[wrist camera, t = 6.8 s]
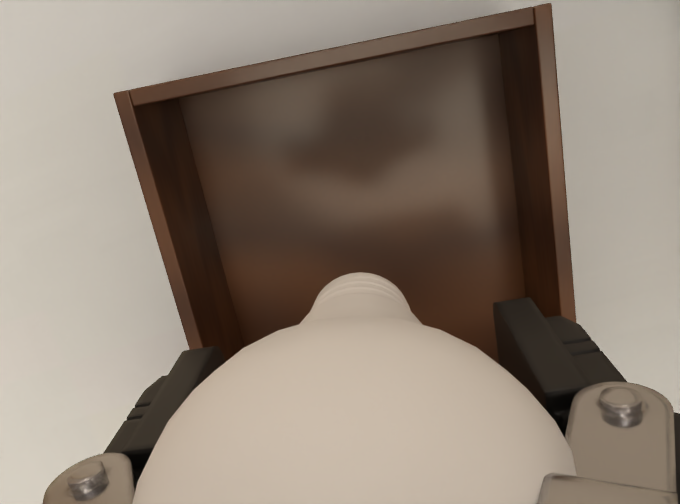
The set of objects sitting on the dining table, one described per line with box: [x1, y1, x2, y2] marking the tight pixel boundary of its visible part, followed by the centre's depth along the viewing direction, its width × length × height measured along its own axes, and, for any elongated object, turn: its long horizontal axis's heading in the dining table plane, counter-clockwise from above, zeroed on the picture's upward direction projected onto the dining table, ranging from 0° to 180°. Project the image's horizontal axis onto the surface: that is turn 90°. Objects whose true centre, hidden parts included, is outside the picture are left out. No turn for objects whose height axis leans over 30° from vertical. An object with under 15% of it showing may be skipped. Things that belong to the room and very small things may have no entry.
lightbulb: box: [132, 272, 577, 504], centre depth 10 cm, size 6×6×11 cm
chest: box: [113, 3, 576, 364], centre depth 25 cm, size 17×16×6 cm
